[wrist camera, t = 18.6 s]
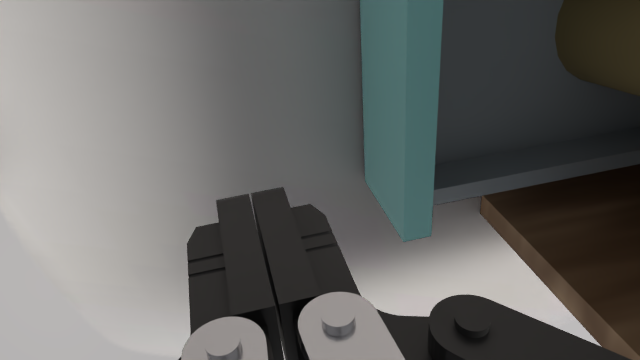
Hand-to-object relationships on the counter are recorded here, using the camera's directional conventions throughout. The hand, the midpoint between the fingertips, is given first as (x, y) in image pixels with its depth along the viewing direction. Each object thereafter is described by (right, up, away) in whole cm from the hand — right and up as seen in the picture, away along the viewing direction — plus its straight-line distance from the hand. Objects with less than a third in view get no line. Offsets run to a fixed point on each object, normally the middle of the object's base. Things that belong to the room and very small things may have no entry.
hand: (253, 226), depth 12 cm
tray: (+12, +8, +12) cm, 18 cm away
